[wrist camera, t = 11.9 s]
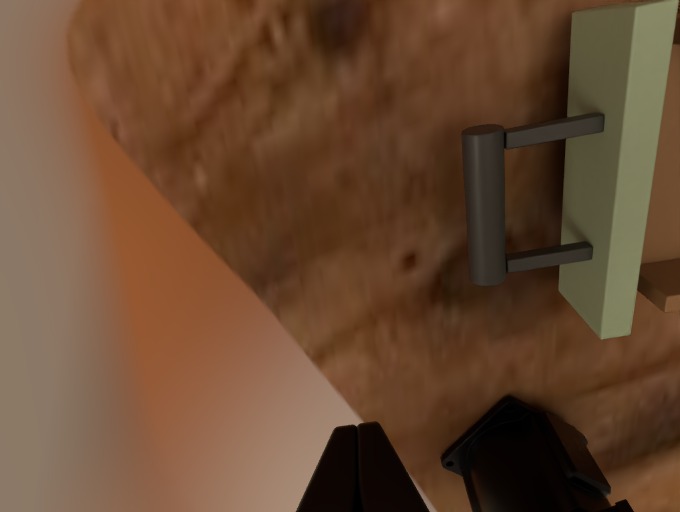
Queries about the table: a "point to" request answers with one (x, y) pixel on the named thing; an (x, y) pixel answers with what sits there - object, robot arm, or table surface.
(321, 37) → the table surface
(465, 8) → the table surface
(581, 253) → the drawer
